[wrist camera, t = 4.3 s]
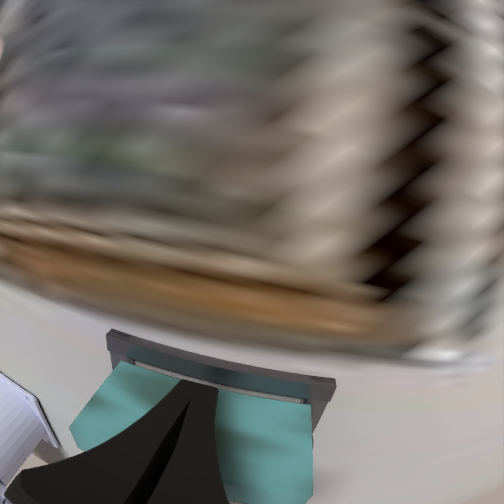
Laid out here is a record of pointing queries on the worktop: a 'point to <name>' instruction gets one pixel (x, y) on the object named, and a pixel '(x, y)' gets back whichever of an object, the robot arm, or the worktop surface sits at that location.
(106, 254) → the worktop surface
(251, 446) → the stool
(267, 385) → the dark grey flat frame
